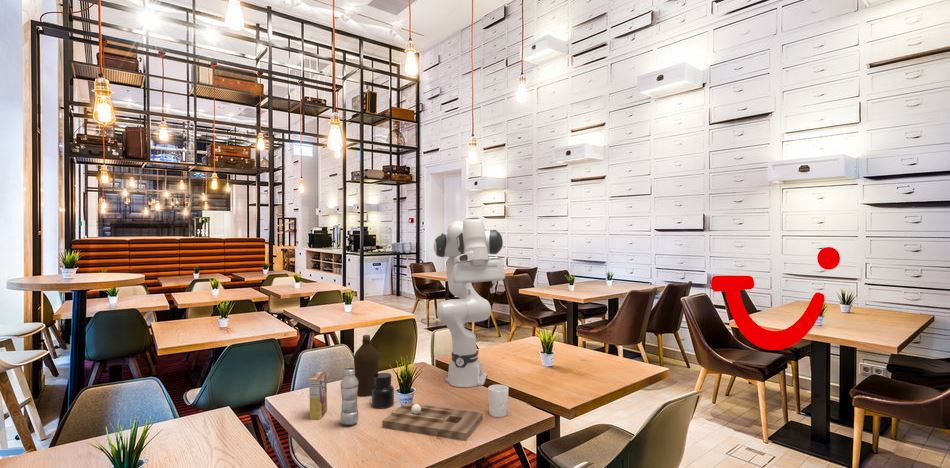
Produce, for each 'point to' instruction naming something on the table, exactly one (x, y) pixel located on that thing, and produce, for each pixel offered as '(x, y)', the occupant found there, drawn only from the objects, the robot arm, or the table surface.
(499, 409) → the white cup
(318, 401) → the candy box
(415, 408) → the ball
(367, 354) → the olive oil
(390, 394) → the ink bottle
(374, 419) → the table surface
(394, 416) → the board
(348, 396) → the plastic bottle
